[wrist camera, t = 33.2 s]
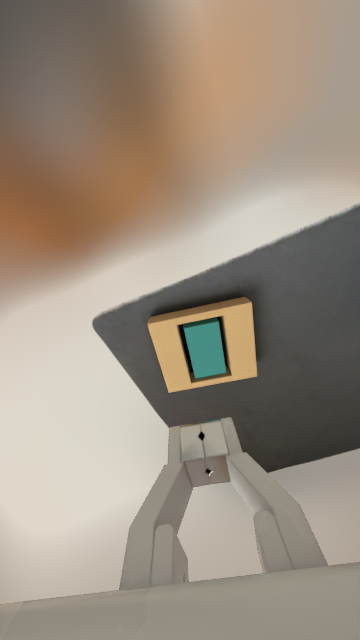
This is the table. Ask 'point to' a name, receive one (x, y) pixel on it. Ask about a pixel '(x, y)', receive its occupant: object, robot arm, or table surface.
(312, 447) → the table surface
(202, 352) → the teal block
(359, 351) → the table surface
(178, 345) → the wooden slot frame
